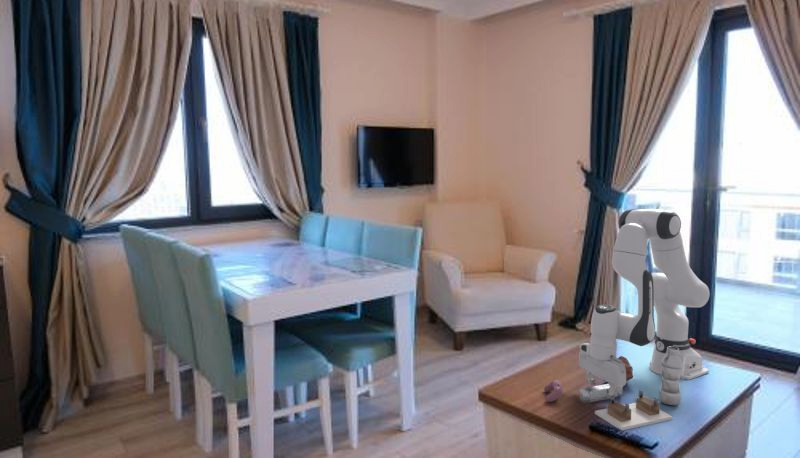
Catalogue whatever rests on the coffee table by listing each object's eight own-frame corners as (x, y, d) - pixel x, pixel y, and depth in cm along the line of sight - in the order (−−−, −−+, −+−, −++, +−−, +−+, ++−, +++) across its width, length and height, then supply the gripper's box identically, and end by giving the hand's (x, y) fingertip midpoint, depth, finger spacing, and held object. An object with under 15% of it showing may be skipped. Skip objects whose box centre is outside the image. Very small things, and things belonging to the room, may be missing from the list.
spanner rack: (643, 403, 184) (644, 385, 183) (672, 419, 173) (673, 400, 172) (594, 413, 176) (595, 395, 176) (621, 430, 165) (622, 410, 164)
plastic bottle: (679, 409, 179) (683, 352, 177) (657, 404, 183) (661, 349, 180) (681, 402, 185) (685, 347, 182) (659, 397, 188) (663, 343, 186)
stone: (621, 376, 207) (622, 352, 206) (640, 384, 200) (641, 359, 198) (599, 383, 201) (600, 358, 199) (618, 391, 193) (620, 365, 192)
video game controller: (556, 407, 184) (566, 391, 183) (544, 401, 185) (554, 384, 183) (554, 395, 194) (563, 379, 192) (542, 389, 194) (552, 373, 193)
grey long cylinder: (617, 392, 193) (617, 381, 193) (624, 396, 190) (624, 385, 189) (577, 399, 187) (578, 388, 186) (584, 403, 184) (584, 392, 183)
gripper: (632, 360, 178) (629, 399, 179) (590, 341, 197) (588, 377, 198) (617, 362, 176) (614, 402, 177) (576, 343, 195) (574, 379, 196)
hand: (600, 388), depth 188 cm, fingers open, 8 cm apart
